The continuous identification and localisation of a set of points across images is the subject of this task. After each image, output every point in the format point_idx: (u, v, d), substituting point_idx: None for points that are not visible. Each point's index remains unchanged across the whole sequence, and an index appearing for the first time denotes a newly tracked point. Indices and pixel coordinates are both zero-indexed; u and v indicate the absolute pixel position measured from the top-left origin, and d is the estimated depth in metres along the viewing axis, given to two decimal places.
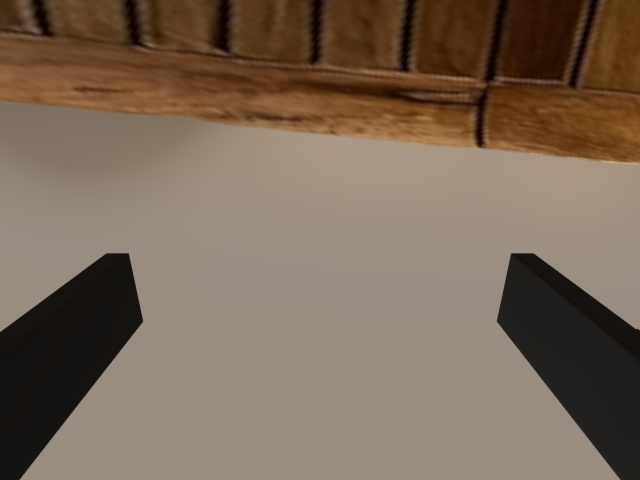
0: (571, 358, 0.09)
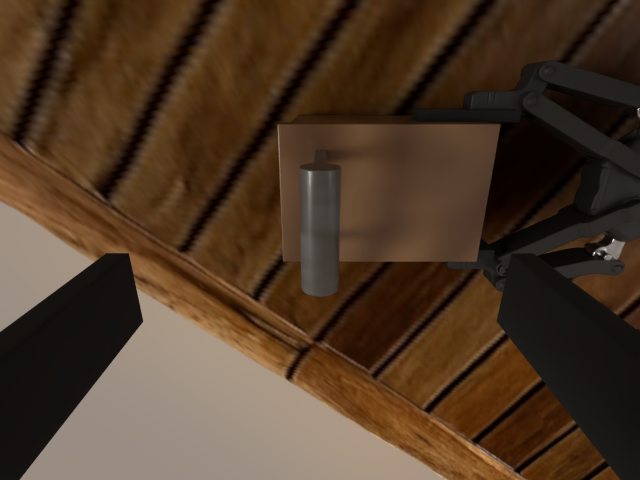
0: (571, 357, 0.09)
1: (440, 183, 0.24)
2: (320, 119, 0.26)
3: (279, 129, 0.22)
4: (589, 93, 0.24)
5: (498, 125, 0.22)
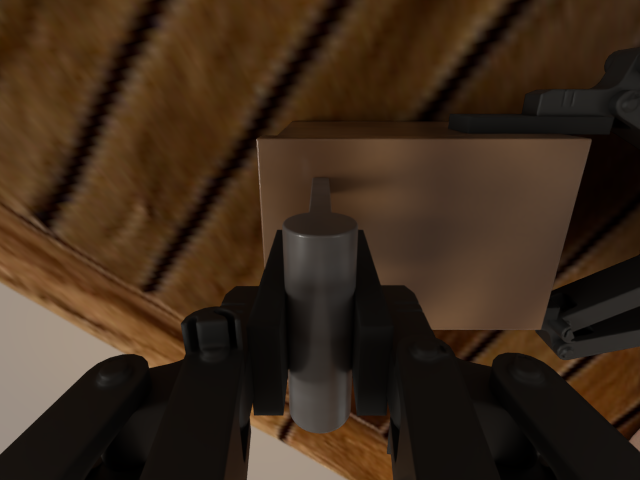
0: None
1: (496, 224, 0.16)
2: (320, 129, 0.19)
3: (259, 146, 0.15)
4: None
5: (588, 140, 0.15)
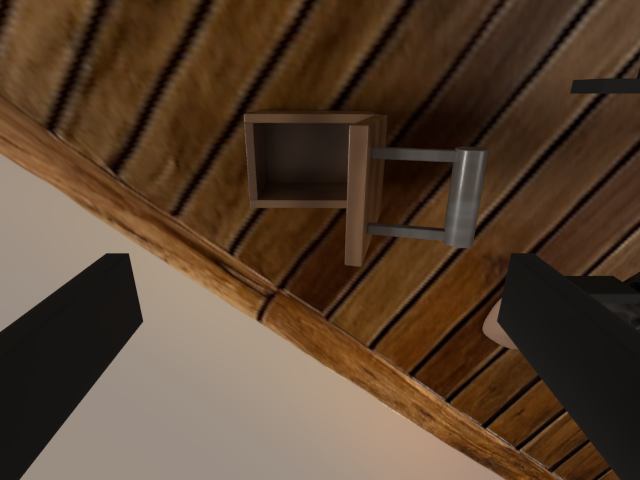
0: (572, 358, 0.09)
1: (381, 160, 0.32)
2: None
3: (368, 130, 0.22)
4: None
5: (387, 115, 0.34)
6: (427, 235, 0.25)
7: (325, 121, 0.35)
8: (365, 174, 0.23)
